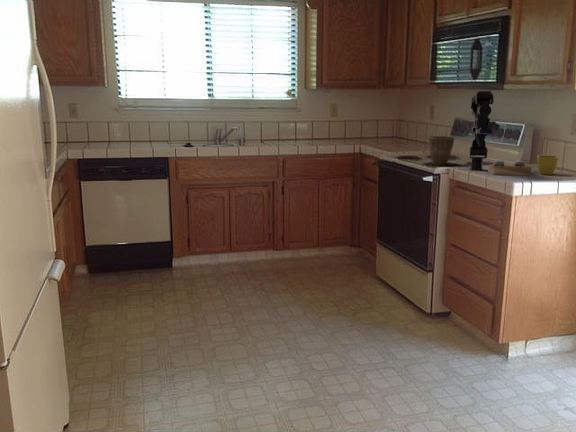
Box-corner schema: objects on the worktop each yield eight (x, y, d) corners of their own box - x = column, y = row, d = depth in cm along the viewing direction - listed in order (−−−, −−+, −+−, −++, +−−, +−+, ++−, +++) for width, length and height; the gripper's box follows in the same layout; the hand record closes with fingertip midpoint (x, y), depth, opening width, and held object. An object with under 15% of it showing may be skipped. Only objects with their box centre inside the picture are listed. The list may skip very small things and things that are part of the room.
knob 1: (493, 172, 279) (493, 160, 278) (501, 172, 279) (502, 160, 277) (495, 173, 275) (496, 161, 274) (504, 173, 274) (505, 161, 273)
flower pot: (556, 175, 269) (557, 157, 267) (536, 174, 272) (538, 156, 270) (554, 173, 277) (556, 155, 275) (535, 172, 280) (537, 155, 278)
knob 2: (513, 172, 278) (514, 160, 277) (522, 172, 278) (523, 161, 276) (515, 173, 274) (516, 161, 273) (525, 173, 273) (526, 161, 272)
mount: (487, 172, 282) (488, 164, 281) (524, 172, 280) (524, 164, 279) (493, 174, 272) (493, 166, 271) (530, 175, 270) (531, 167, 270)
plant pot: (458, 165, 316) (459, 137, 313) (435, 166, 312) (437, 138, 308) (443, 162, 330) (444, 136, 327) (421, 163, 326) (423, 136, 322)
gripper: (504, 116, 265) (502, 148, 268) (494, 115, 283) (492, 146, 286) (480, 116, 266) (478, 148, 269) (472, 115, 284) (470, 146, 287)
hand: (480, 147), depth 278 cm, fingers closed
